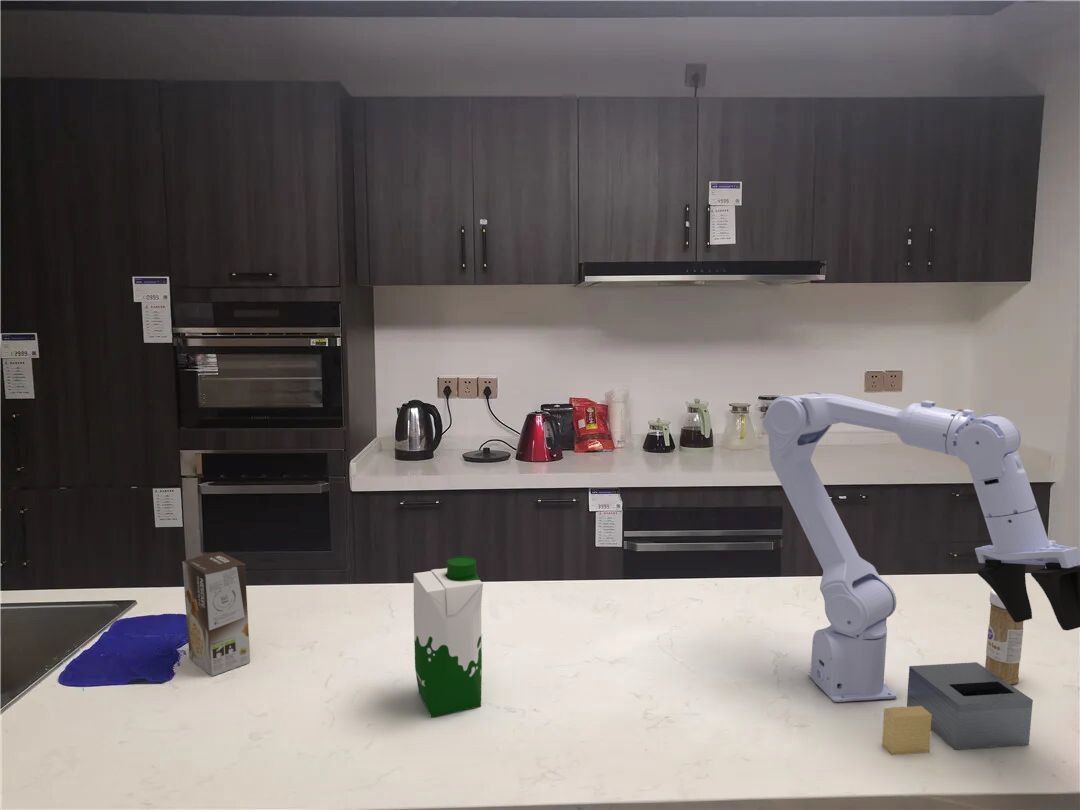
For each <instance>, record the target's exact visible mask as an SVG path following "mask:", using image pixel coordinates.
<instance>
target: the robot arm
mask: <svg viewBox="0 0 1080 810" xmlns="http://www.w3.org/2000/svg"><path fill="white" fill-rule="evenodd" d="M936 404H937V403H936V402H935V401H932V400H928V399H926V400H922V401H921V402H920V403H918V402H913V403H911V404H909V405H908V406H907V407H905V408H904V409H901V408H898V407H897V408H896V407H892V406H888V405H884V404H880V403H877V402H872V401H869V400H868V401H867V400H865V399H860V398H855V397H851V396H847V395H843V394H839V393H838V394H837V393H823V392H818V391H812V392H808V393H805V394H797V395H784V396H783V395H782V396H778V397H777V398H775V399H774V400H772V402H771V403H770V404H769V406H768V408H767V410H766V413H765V416H764V418H763V420H762V426H763V427H764V429H765V431H766V433H767V435H768V446H769V447H768V450H769V460H770V461H769V462H770V463H771V467H772V469H773V471H774V472H775V475H776V476H777V478H778V481H779V482H780V484H781V487H782V488H783V491H784V492H785V495H786V497H787V499H788V501H789V503H790V505H791V507H792V509H793V511H794V513H795V515H796V517H797V519H798V521H799V523H800V526H801V528H802V529H803V532H804V533H805V536H806V538H807V540H808V542H809V544H810V546H811V548H812V551H813V553H814V554H815V556H816V558H817V560H818V563H819V564H820V567H821V568H822V572H823V573H822V575H821V581H820V585H819V590H820V593H821V594H822V597H823V601H824V612H825V616H826V618H827V620H828V622H829V623H830V625H829V626H827V627H824V628H821V629H817V630H816V631H814V634H813V637H812V644H811V645H812V647H811V662H810V663H811V664H810V665H811V667H810V671H808V673H807V674H808V677H810V678H811V679H812V681H813V683H815V684H816V685H818V687H819V688H820V689H821V690H822V691H823V692H824V693H825V694H826V695H827V696H828V697H829V698H830V699H831V701H833V702H835V703H836V702H837V703H841V702H842V703H843V702H853V701H854V702H857V701H873V700H888V699H897V694H896V692H895V691H893V689H891V688H890V687H889V686H888V685H887V684H885V669H886V652H887V651H886V650H887V639H888V638H887V637H888V636H887V635H888V634H887V633H888V628H887V618H889V617H891V616H892V615H893V614H894V613H895V610H896V608H897V597H896V593H895V591H894V589H893V588H892V587H891V585H890V584H889V583H887V581H885V580H884V579H883V578H882V577H881V576H880V575H879V572H878V571H877V569H876V567H875V566H874V565H873V564H872V563H870V562H869V561H867V560H865V559H864V558H862V557H861V556H860V554H859V553H858V551H857V549H856V547H855V545H854V543H853V541H852V539H851V537H850V535H849V533H848V531H847V529H846V528H845V526H844V524H843V521H842V520H841V518H840V516H839V514H838V511H837V510H836V507H835V505H834V504H833V502H832V499H831V498H830V496H829V494H828V491H827V490H826V488H825V486H824V484H823V482H822V480H821V478H820V476H819V474H818V472H817V470H816V468H815V466H814V464H813V461H812V457H813V454H814V451H815V450H816V447H817V444H818V443H819V442H820V441H821V440H822V438H823V437H824V436H825V434H827V432H828V431H829V430H830V428H832V426H833V425H836V424H841V423H843V424H846V425H847V424H848V425H852V426H853V425H854V426H859V427H864V428H870V429H874V430H880V431H885V432H891V433H895V434H896V435H897V437H898V438H899V439H900V441H901V442H902V443H903V444H904V445H906V446H910V447H915V448H919V449H924V450H928V451H932V452H936V453H940V454H945V455H948V456H951V457H955V456H956V457H957V458H958V459H959V460H960V461H961V462H963V463H964V464H965V465H967V466H968V469H969V473H970V476H971V480H972V483H973V486H974V490H975V492H976V495H977V498H978V503H979V505H980V508H981V511H982V514H983V517H984V520H985V523H986V527H987V529H988V530H987V531H988V533H989V536H990V539H991V543H992V544H988V545H983V546H980V547H976V548H974V550H975V552H974V553H975V554H976V559H977V560H978V563H979V564H984V567H980V568H977V570H976V573H977V575H978V576H979V577H980V578H982V580H984V581H985V582H986V584H987V585H988V586H990V588H991V589H993V590H994V591H995V593H996V594H997V595H998V597H999V598H1000V600H1001V601H1002V603H1003V605H1004V606H1005V608H1006V609H1007V611H1008V613H1009V614H1010V616H1011V618H1012V619H1013V621H1014V622H1022V621H1023V622H1025V621H1029V620H1032V619H1033V613H1032V612H1033V611H1032V606H1031V602H1030V598H1029V595H1028V591H1027V584H1026V583H1027V580H1026V567H1027V565H1039V566H1045V567H1043V568H1041V569H1040V568H1039V569H1036V570H1033V571H1030V576H1031V577H1032V578H1033V579H1034V580H1035V581H1036V583H1037V584H1038V585H1039V587H1040V588H1041V589H1042V591H1043V592H1044V594H1045V596H1046V597H1047V600H1048V601H1049V604H1050V606H1051V609H1052V611H1053V613H1054V615H1055V619H1056V620H1057V623H1058V624H1059V626H1060V627H1061V629H1062V630H1063V631H1067V632H1068V631H1072V630H1075V629H1078V628H1080V551H1079V547H1078V546H1066V545H1061V544H1057V541H1056V540H1054V539H1053V540H1051V539H1048V535H1047V532H1046V529H1045V526H1044V523H1043V520H1042V517H1041V514H1040V512H1039V509H1038V505H1037V502H1036V499H1035V496H1034V493H1033V490H1032V487H1031V485H1030V484H1031V483H1030V481H1029V477H1028V474H1027V472H1026V469H1025V467H1024V465H1023V461H1022V459H1021V456H1020V453H1019V447H1020V445H1021V436H1022V435H1021V433H1020V430H1019V428H1018V427H1017V425H1016V424H1015V423H1014V422H1013V421H1012V420H1010V419H1008V418H1006V417H1004V416H1001V415H999V414H997V413H988V414H984V415H982V416H979V417H977V415H976V413H975V410H973V409H969V408H966V409H963V410H962V411H959V410H953V409H948V408H944V407H940V406H939V407H938V406H936Z"/></svg>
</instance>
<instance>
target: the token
mask: <svg viewBox="0 0 1080 810" xmlns="http://www.w3.org/2000/svg"><path fill="white" fill-rule="evenodd" d="M931 718H932V714H931V713H929V712H928V711H927V710H926V709H925V708H923V707H922V706H913V707H907V706H900V707H886V708H885V707H884V709H883V721H882V722H883V723H882V725H883V727H882V740H881V741H882V742H881V746H882V747H883V748H884V749H885V750H886V751H887V752H888V754H890V755H892V756H893V755H895V756H896V755H905V754H907V755H908V754H922V753H930V743H931V730H932V729H931Z"/></svg>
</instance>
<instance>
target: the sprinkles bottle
mask: <svg viewBox="0 0 1080 810" xmlns="http://www.w3.org/2000/svg"><path fill="white" fill-rule="evenodd" d="M989 593H990V594H989V602H990V611H989V612H990V613H989V622H988V628H987V637H986V638H987V639H986V649H985V653H986V654H985V664H984V665H985V666H984V667H985V668H986V669H988V670H989V671H991V672H992V673H994V674H995V675H997V676H998V677H1000V678H1001V679H1002V680H1004V681H1005V682H1007V683H1008V684H1010V685H1013V684H1018V683H1019V680H1020V677H1019V673H1020V670H1019V669H1020V665H1021V664H1020V663H1021V658H1022V657H1021V656H1022V647H1023V637H1024V621H1022V622H1014V621H1013V619H1012V618H1011V616H1010V614H1009V613H1008V611H1007V609H1006V608H1005V606H1004V605H1003V603H1002V601H1001V600H1000V598H999V597H998V595H997V594H996V593H995V591H994V590H993V589H992V588H991V589H990V592H989Z"/></svg>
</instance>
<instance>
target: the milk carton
mask: <svg viewBox="0 0 1080 810" xmlns="http://www.w3.org/2000/svg"><path fill="white" fill-rule="evenodd" d="M483 586H484V583H483V582H482V581H481V578H480V577H479V574H478V573H477V560H476V559H475V558H474V557H470V556H456V557H452V558H449V559H448V560H447V561H446V568H444V567H443V568H434V569H431V570H430V571H429V570H428V571H423V572H415V573H413V638H414V641H413V644H414V670H415V677H416V683H417V689H418V694H419V696H420V698H421V700H422V702H423V704H424V706H425V708H426V710H427V711H428V714H429V715H430V717H431V718H435V717H439V716H443V715H444V716H445V715H449V714H454V713H457V712H461V711H463V712H464V711H467V710H471V709H475V708H480V707H482V685H483V684H482V674H483V671H482V670H483V669H482V668H483V667H482V666H483V664H482V663H483V659H482V658H483V657H482V653H483V652H482V649H483V647H482V645H483V644H482V601H483V599H482V598H483V589H484V587H483Z"/></svg>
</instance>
